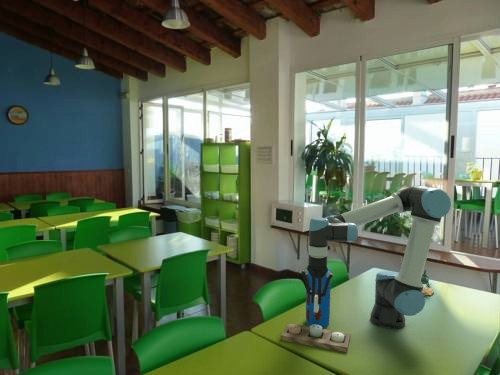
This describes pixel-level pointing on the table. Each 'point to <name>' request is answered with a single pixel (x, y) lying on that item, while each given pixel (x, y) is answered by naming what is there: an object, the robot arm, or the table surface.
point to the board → (311, 341)
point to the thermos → (324, 307)
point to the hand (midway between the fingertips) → (316, 311)
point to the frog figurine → (425, 280)
